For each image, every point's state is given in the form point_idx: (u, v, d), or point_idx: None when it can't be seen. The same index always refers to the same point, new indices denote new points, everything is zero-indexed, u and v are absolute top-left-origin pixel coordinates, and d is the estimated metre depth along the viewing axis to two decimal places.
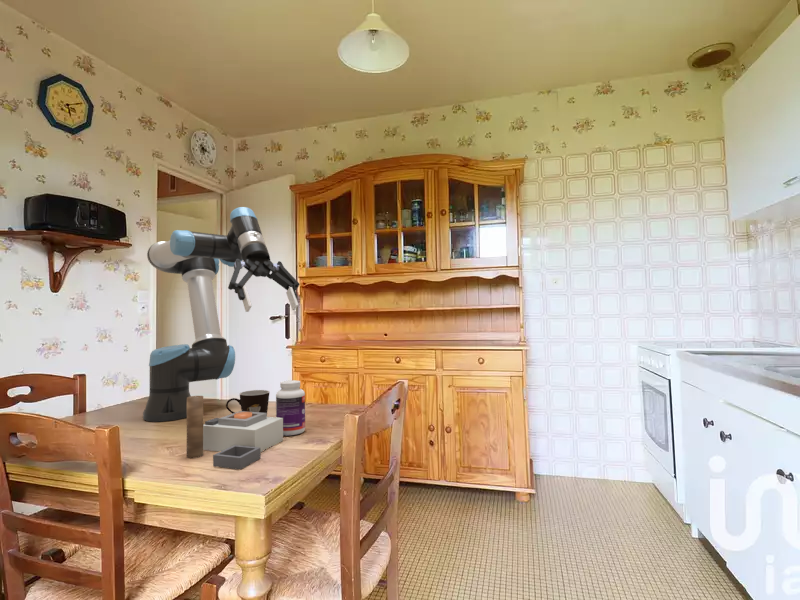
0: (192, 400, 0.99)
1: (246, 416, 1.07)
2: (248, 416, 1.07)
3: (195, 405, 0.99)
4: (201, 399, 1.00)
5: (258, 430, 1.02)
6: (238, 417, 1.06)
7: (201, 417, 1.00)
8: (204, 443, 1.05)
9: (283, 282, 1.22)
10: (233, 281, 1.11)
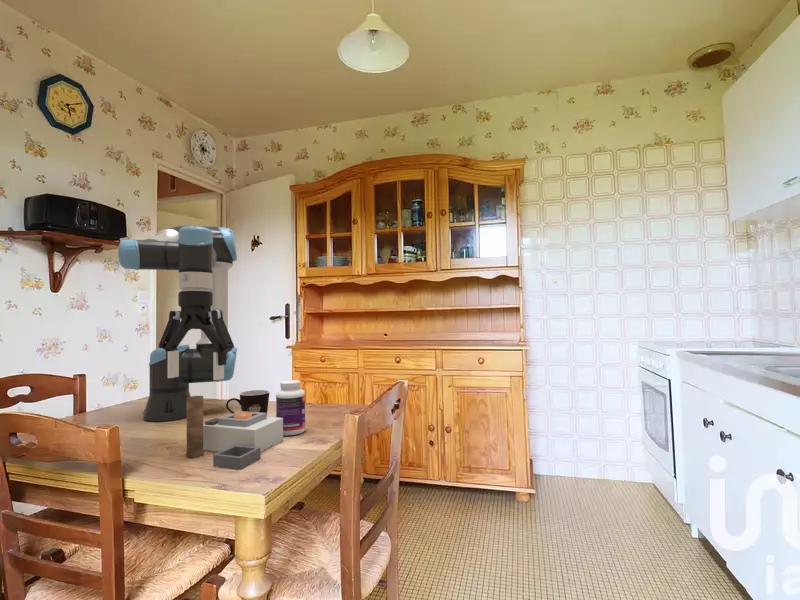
0: (192, 400, 0.99)
1: (246, 416, 1.07)
2: (248, 416, 1.07)
3: (195, 405, 0.99)
4: (201, 399, 1.00)
5: (258, 430, 1.02)
6: (238, 417, 1.06)
7: (201, 417, 1.00)
8: (204, 443, 1.05)
9: None
10: (161, 344, 1.03)
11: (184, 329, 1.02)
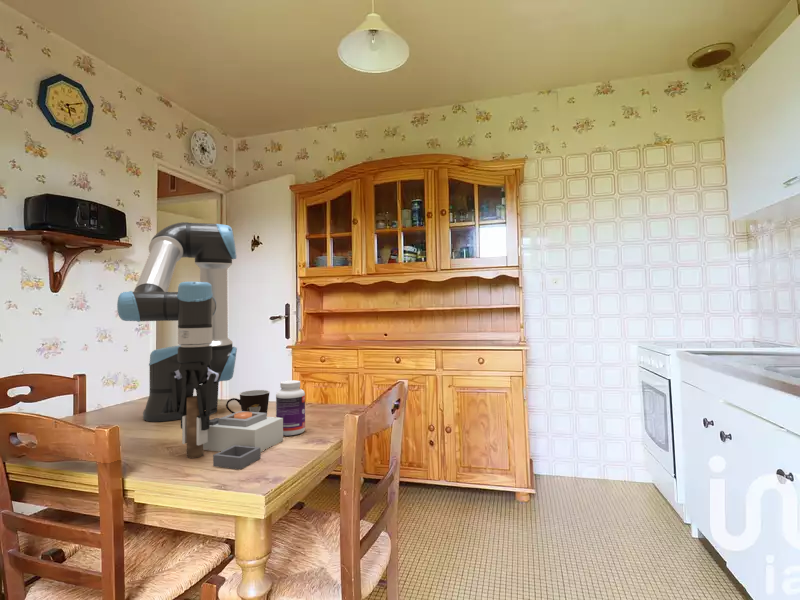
0: (192, 400, 0.99)
1: (246, 416, 1.07)
2: (248, 416, 1.07)
3: (195, 405, 0.99)
4: None
5: (258, 430, 1.02)
6: (238, 417, 1.06)
7: None
8: (204, 443, 1.05)
9: None
10: (174, 408, 1.01)
11: (189, 386, 1.01)
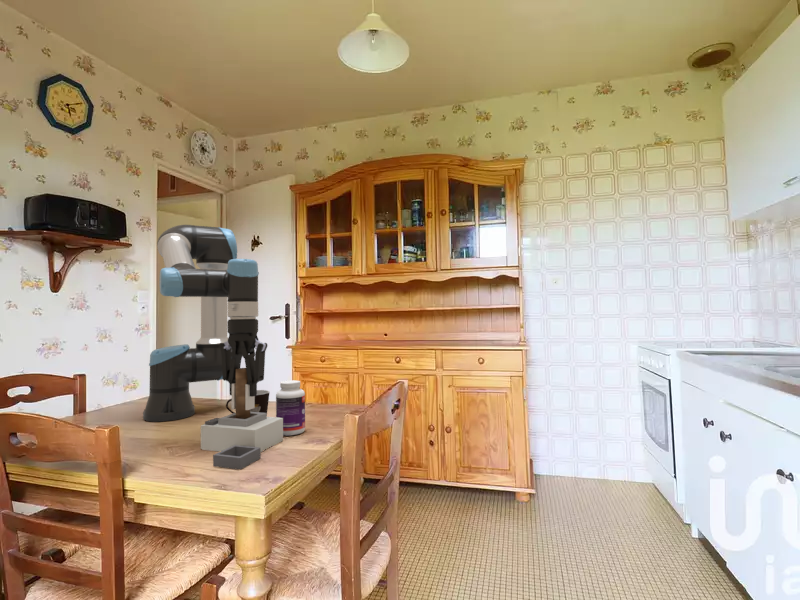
0: (241, 371, 1.07)
1: None
2: None
3: (243, 376, 1.07)
4: None
5: (258, 430, 1.02)
6: None
7: None
8: (204, 443, 1.05)
9: None
10: (224, 376, 1.09)
11: (237, 356, 1.09)
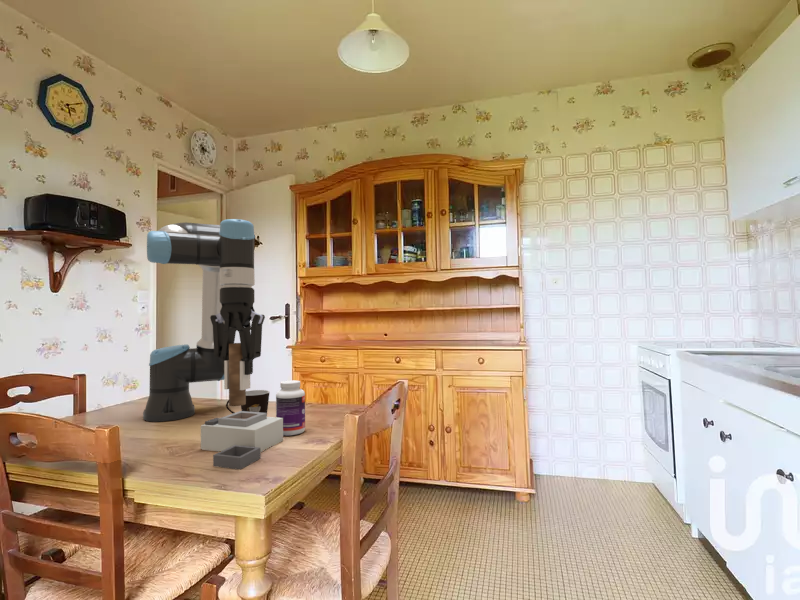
0: (235, 345, 0.95)
1: None
2: None
3: (238, 351, 0.95)
4: None
5: (258, 430, 1.02)
6: None
7: None
8: (204, 443, 1.05)
9: None
10: (216, 353, 0.97)
11: (231, 329, 0.96)
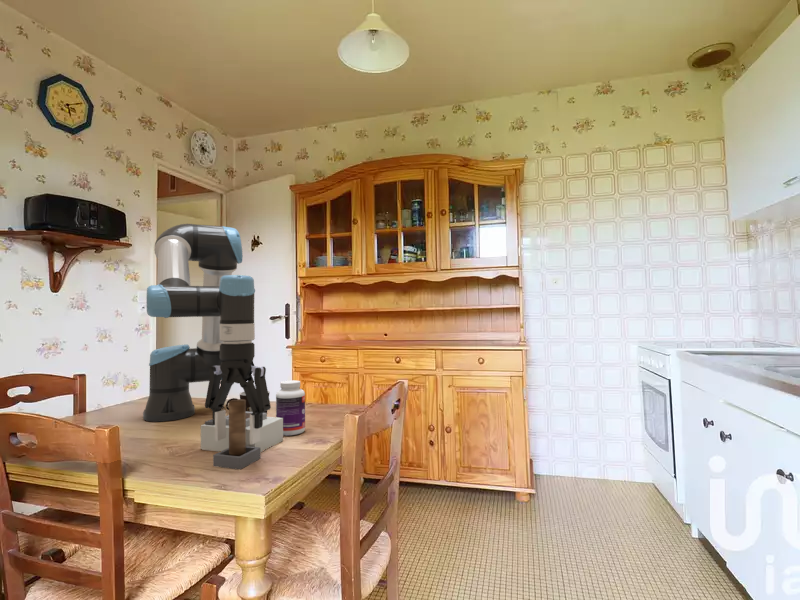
0: (235, 404, 0.94)
1: None
2: None
3: (238, 410, 0.94)
4: (244, 403, 0.96)
5: None
6: None
7: (244, 422, 0.96)
8: (204, 443, 1.05)
9: None
10: (207, 404, 0.97)
11: (228, 384, 0.96)
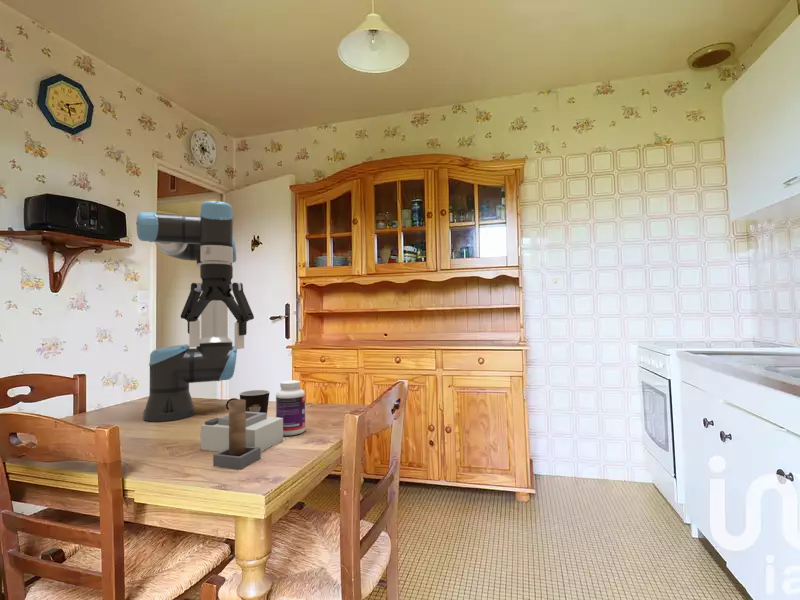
0: (235, 404, 0.94)
1: None
2: None
3: (238, 410, 0.94)
4: (244, 403, 0.96)
5: (258, 430, 1.02)
6: None
7: (244, 422, 0.96)
8: (204, 443, 1.05)
9: None
10: (182, 315, 1.07)
11: (205, 300, 1.06)
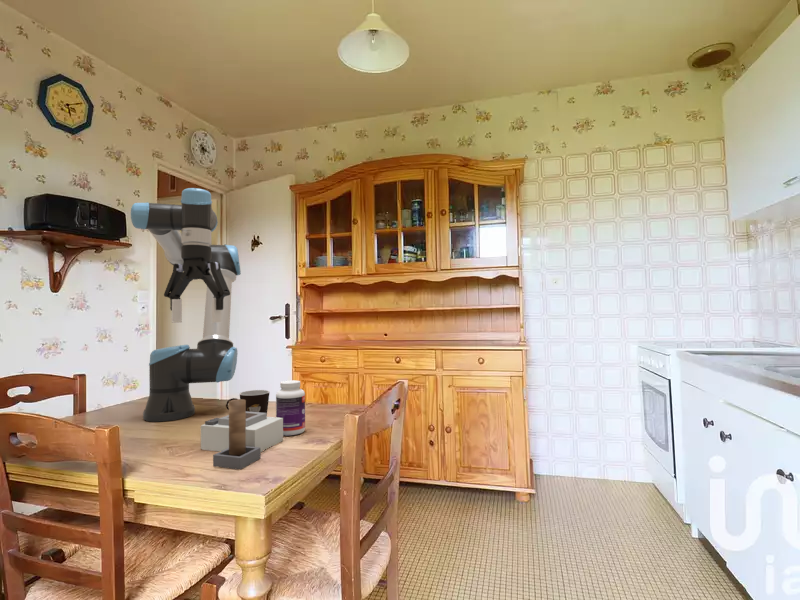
0: (235, 404, 0.94)
1: None
2: None
3: (238, 410, 0.94)
4: (244, 403, 0.96)
5: (258, 430, 1.02)
6: None
7: (244, 422, 0.96)
8: (204, 443, 1.05)
9: None
10: (166, 293, 1.17)
11: (186, 279, 1.16)
